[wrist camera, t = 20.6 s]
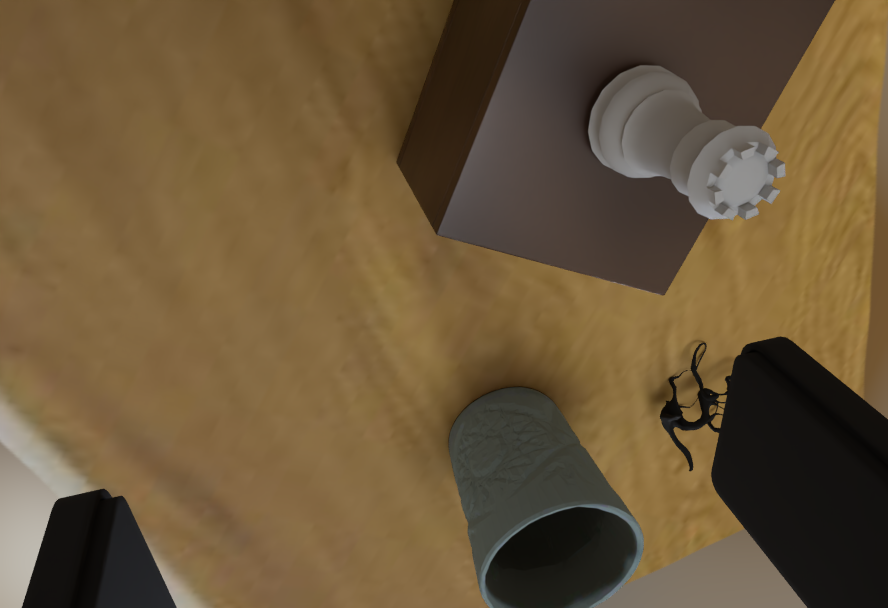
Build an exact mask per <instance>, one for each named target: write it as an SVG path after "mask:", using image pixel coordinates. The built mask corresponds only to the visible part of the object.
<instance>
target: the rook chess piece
mask: <svg viewBox="0 0 888 608" xmlns="http://www.w3.org/2000/svg"><path fill="white" fill-rule="evenodd" d="M588 134H589V139H590V143H591V148H592V151H593V152H594V154H595V155H596V156H597V158H598V159H599V160H600V162H601V163H602V164H603V165H605V166H607V167H609V168H612V169H613V170H614V171H616V172H619V173H621V174H623V175H625V176H627V177H631V178H652V177H654V176H663V177H666V178H669V179H671V180H672V183H673V184H674V186H675V187H676V188H677V190H678V191H679V192H680V193H682V194H685V195H687V196H689V201H690V203H691V204H692V206H693V207H694V209H695V210H696V211H697V213H699V214H701V215H703V216H705V217H707V218H709V219H727V218H729V219H731V220H733V218H734V216H735V215H739V216H740V217H742V218H744V219H745V220H746V219H748V218H751V217H753V216H756V215H758V214H759V212H758V209H757V207H756V206H754V205H756V204H757V203H758V202H759V201H760V200H762V199H764V200H765V201H767V202H769V203H770V204H771V203H772V202H773V201H774V199H775V198H776V196H777V195H778V193H779V192H780V190H778V189H776V188H775V187H773V186H772V182H773V179H774V177H776V178H780V177H784V176H785V163H784V162H782V161H780V160H778V159H776V155H777V154H778V153H779V152H778V151H776V147H775V145H774V143H773V141H772V139H771V138H770V136H769V134H768V133H766V132H765V131H763V130H761V129H759V128H758V127H756V126H734V125H732V124H731V123H729V122H727V121H725V120H710V119H709V118H708V117H706V116H705V115H704V114H703V113H702V110H701V108H700V107H699V101H698V99H697V97H696V96H695V94H694V92H693V91H692V89H691V87H690V86H689V84H688V83H687V82H686V81H685V80H683V79H681V78H680V77H678V76H676V75H675V74H673V73H672V72H670V71H668V70H666V69H664V68H663V67H661V66H647V65H640V66H637V67H635V68H633V69H630V70H628V71H625V72H623V73H620V74H619V75H618V76H617V77H616V78H615V79H614V80H613V81H612V82H610V83H609V84H608V85H607V86H606V87H605V88H604V89H603V90H602V92H601V94H600V96H599V97H598V99H597V101H596V103H595V105H594V106H593V108H592V111H591V117H590V122H589V128H588Z"/></svg>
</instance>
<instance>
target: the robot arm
mask: <svg viewBox="0 0 888 608" xmlns="http://www.w3.org/2000/svg"><path fill="white" fill-rule="evenodd" d="M711 477H712V482H713V485H714V488H715V490H716V492H717V493H718V495H719V496H720V497H721V499H722V500H723V501H724V503H725V504H726V505H727V506H728V508H729V509H730V510H731V511H732V513H733V514H734V515H735V516H736V518H737V519H738V520H739V522H740V523H741V524H742V525H743V527H744V528H745V529H746V530H747V532H748V533H749V534H750V535H751V537H752V538H753V539H754V540H755V542H756V543H757V544H758V545H759V547H760V548H761V549H762V551H763V552H764V553H765V554H766V556H767V557H768V558H769V559H770V561H771V562H772V563H773V564H774V566H775V567H776V568H777V570H778V571H779V572H780V573H781V575H782V576H783V577H784V578H785V580H786V581H787V582H788V584H789V585H790V586H791V587H792V589H793V590H794V591H795V592H796V594H797V595H798V596H799V597H800V599H801V600H802V601H803V602H804V604H805V605H806V606H807V608H888V419H887V418H885V417H884V416H883V415H882V414H881V413H879V412H878V411H877V410H876V409H874V408H873V407H872V406H870V405H869V404H868V403H867V402H866V401H865V400H863V399H862V398H861V397H860V396H859V395H857V394H856V393H855V392H854V391H852V390H851V389H850V388H849V387H847V386H846V385H845V384H844V383H843V382H841V381H840V380H839V379H838V378H836V377H835V376H834V375H833V374H832V373H830V372H829V371H828V370H827V369H825V368H824V367H823V366H822V365H821V364H819V363H818V362H817V361H816V360H814V359H813V358H812V357H811V356H810V355H808V354H807V353H806V352H805V351H803V350H802V349H801V348H800V347H799V346H797V345H796V344H795V343H794V342H792V341H791V340H789V339H788V338H786V337H776V338H772V339H767V340H763V341H758V342H754V343H750V344H747V345H746V346H745V347H744V348H743V350H742V352H741V355H738V356H737V357H736V358H735V361H734V365H733V370H732V374H731V379H730V384H729V389H728V394H727V399H726V404H725V408H724V413H723V418H722V423H721V428H720V433H719V437H718V442H717V447H716V452H715V457H714V462H713V467H712V473H711ZM22 608H176V605H175V603H174V601H173V599H172V597H171V595H170V593H169V591H168V588H167V586H166V584H165V582H164V580H163V578H162V576H161V574H160V571H159V569H158V567H157V565H156V563H155V561H154V559H153V556H152V554H151V552H150V550H149V548H148V546H147V544H146V542H145V539H144V537H143V535H142V533H141V531H140V529H139V527H138V525H137V522H136V520H135V518H134V516H133V514H132V512H131V510H130V507H129V505H128V503H127V501H126V500H125V498H124V497H123V496H118V497H113V498H112V497H111V495H110V494H109V492H108V491H107V490H105V489H100V490H95V491H91V492H86V493H82V494H78V495H73V496H69V497H64V498H60V499H58V500H57V501H56V502H55V504H54V506H53V508H52V511H51V514H50V518H49V521H48V524H47V528H46V531H45V534H44V537H43V541H42V544H41V547H40V550H39V554H38V557H37V560H36V563H35V567H34V570H33V573H32V576H31V580H30V583H29V586H28V589H27V593H26V596H25V599H24V602H23V606H22Z"/></svg>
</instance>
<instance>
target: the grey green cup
mask: <svg viewBox="0 0 888 608" xmlns="http://www.w3.org/2000/svg"><path fill="white" fill-rule="evenodd" d="M449 453H450V458H451V462H452V467H453V472H454V476H455V480H456V483H457V486H458V491H459V495H460V497H461V504H462V508H463V511H464V514H465V516H466V519H467V521H468V536H469V539H470V543H471V547H472V554H473V560H474V565H475V570H476V574H477V579H478V584H479V589H480V592H481V595H482V597H483V599H484V601H485V602H486V604H487V605H488V606H489V607H490V608H594V607H595V606H597V605H599V604H600V603H602V602H603V601H605V600H607V599H608V598H609V597H611V596H612V595H613V594H614V593H615V592H617V591H618V590H619V589H620V588H621V587H622V586H623V585H624V584H625V583H626V582H627V580H628V579H629V578H630V577H631V576H632V574H633V573H634V571H635V570H636V568H637V566H638V564H639V562H640V560H641V556H642V553H643V546H644V539H643V534H642V531H641V528H640V526H639V524H638V523H637V521H636V520H635V518H634V517H633V515H632V514H631V513H630V511H629V510H628V508H627V507H626V505H625V504H624V502H623V501H622V500H621V498H620V497H619V496H618V494H617V493H616V492H615V491H614V490H613V489H612V487H611V486H610V485H609V483H608V482H607V480H606V479H605V477H604V476H603V474H602V473H601V471H600V470H599V468H598V467H597V465H596V464H595V462H594V461H593V459H592V458H591V456H590V455H589V453H588V452H587V450H586V449H585V448H584V447H583V446H581V444H580V441H579V439H578V438H577V436H576V435H575V433H574V432H573V431H572V429H571V428H570V426H569V424H568V423H567V421H566V419H565V418H564V416H563V414H562V413H561V412H560V410H559V409H558V407H557V406H556V405H555V403H554V402H553V401H552V400H551V399H550V398H548V397H547V396H545V395H544V394H542V393H540V392H538V391H536V390H534V389H529V388H524V387H511V388H505V389H500V390H497V391H494V392H491V393H488V394H486V395H484V396H482V397H480V398H479V399H477V400H476V401H474V402H473V403H471V404H470V405H469V406H468V407H467V408H466V409H465V410H463V412H462V413H461V414H460V415H459V416H458V418H457V419H456V421H455V423H454V425H453V426H452V429H451V432H450V436H449Z"/></svg>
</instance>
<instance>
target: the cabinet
mask: <svg viewBox="0 0 888 608" xmlns="http://www.w3.org/2000/svg"><path fill="white" fill-rule="evenodd" d="M834 1H835V0H454V3H453V5H452V8H451V11H450V14H449V17H448V19H447V22H446V25H445V28H444V31H443V33H442V36H441V39H440V42H439V45H438V47H437V50H436V53H435V56H434V59H433V61H432V64H431V67H430V70H429V73H428V76H427V78H426V81H425V84H424V87H423V90H422V92H421V95H420V98H419V101H418V104H417V106H416V109H415V112H414V115H413V118H412V120H411V123H410V126H409V129H408V132H407V134H406V137H405V140H404V143H403V146H402V148H401V151H400V154H399V157H398V160H397V164H398V166H399V168H400V170H401V172H402V173H403V175H404V177H405V179H406V181H407V182H408V184H409V186H410V188H411V190H412V191H413V193H414V195H415V197H416V199H417V200H418V202H419V204H420V206H421V208H422V210H423V211H424V213H425V215H426V217H427V219H428V220H429V222H430V224H431V226H432V227H433V229H434V231H435V233H436V235H439V236H443V237H447V238H450V239H454V240H458V241H462V242H465V243H469V244H473V245H476V246H480V247H484V248H488V249H491V250H495V251H499V252H503V253H506V254H510V255H514V256H518V257H521V258H525V259H529V260H533V261H536V262H540V263H544V264H547V265H551V266H555V267H559V268H562V269H566V270H570V271H574V272H577V273H581V274H585V275H589V276H592V277H596V278H600V279H603V280H607V281H611V282H615V283H618V284H622V285H626V286H630V287H633V288H637V289H641V290H645V291H648V292H652V293H656V294H660V295H665V293H666V292H667V290H668V288H669V286H670V285H671V283H672V281H673V279H674V278H675V276H676V274H677V273H678V271H679V269H680V267H681V266H682V264H683V262H684V260H685V259H686V257H687V255H688V254H689V252H690V250H691V248H692V247H693V245H694V243H695V241H696V240H697V238H698V236H699V235H700V233H701V231H702V229H703V228H704V226H705V224H706V222H707V221H708V219H709V218H707V217H705V216H703V215H701V214H699V213H697V211H696V210H695V209H694V207H693V206H692V204H691V203H690V201H689V196H687V195H685V194H682V193H680V192H679V191H678V190H677V188H676V187H675V186H674V184H673V183H672V180H671V179H669V178H666V177H663V176H654V177H652V178H631V177H627V176H625V175H623V174H621V173H619V172H616V171H614V170H613V169H612V168H609V167H607V166H605V165H603V164H602V163H601V162H600V160H599V159H598V158H597V156H596V155H595V154H594V152H593V151H592V148H591V143H590V139H589V134H588V128H589V122H590V117H591V111H592V108H593V106H594V105H595V103H596V101H597V99H598V97H599V96H600V94H601V92H602V90H603V89H604V88H605V87H606V86H607V85H608V84H609V83H610V82H612V81H613V80H614V79H615V78H616V77H617V76H618V75H619V74H620V73H623V72H625V71H628V70H630V69H633V68H635V67H637V66H640V65H647V66H661V67H663V68H664V69H666V70H668V71H670V72H672V73H673V74H675V75H676V76H678V77H680V78H681V79H683V80H685V81H686V82H687V83H688V84H689V86H690V87H691V89H692V91H693V92H694V94H695V96H696V97H697V99H698V101H699V107H700V108H701V110H702V113H703V114H704V115H705V116H706V117H708V118H709V119H710V120H725V121H727V122H729V123H731V124H732V125H734V126H756V127H758V128H759V129H761V127H762V126H763V124H764V122H765V121H766V119H767V117H768V115H769V114H770V112H771V110H772V108H773V107H774V105H775V103H776V102H777V100H778V98H779V96H780V95H781V93H782V91H783V89H784V88H785V86H786V84H787V83H788V81H789V79H790V77H791V76H792V74H793V72H794V70H795V69H796V67H797V65H798V64H799V62H800V60H801V58H802V57H803V55H804V53H805V51H806V50H807V48H808V46H809V45H810V43H811V41H812V39H813V38H814V36H815V34H816V32H817V31H818V29H819V27H820V26H821V24H822V22H823V20H824V19H825V17H826V15H827V13H828V12H829V10H830V8H831V7H832V5H833V3H834Z"/></svg>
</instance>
